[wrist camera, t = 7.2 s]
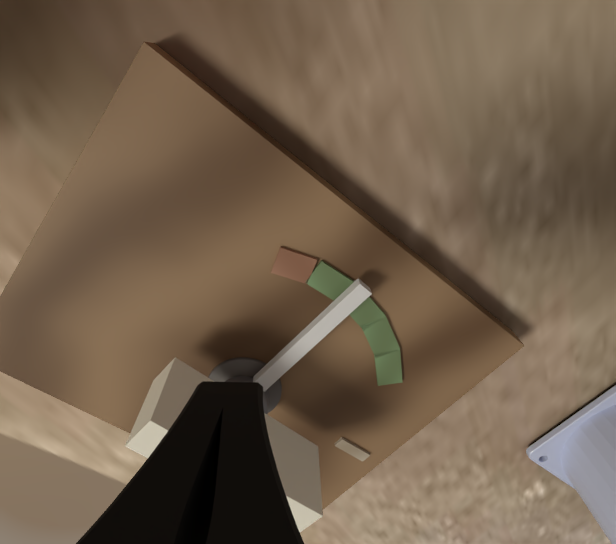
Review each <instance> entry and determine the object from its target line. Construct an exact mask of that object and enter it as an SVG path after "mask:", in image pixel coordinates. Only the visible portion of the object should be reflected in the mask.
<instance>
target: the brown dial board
mask: <svg viewBox="0 0 616 544" xmlns="http://www.w3.org/2000/svg"><path fill="white" fill-rule="evenodd" d="M358 278H359V279H360V280H361V281H362V282H363V283H365V284H366V285H367V286H368V287H369V288H370V290H371V293H372V294H371V295H370V296H369V297H368V298H367V299H366V300H365V301H364V302H362V303H361V304H360V305H359V306H358V307H357V308H356V309H355V310H354V311H353V312H351V313H350V314H349V315H348V316H347V317H346V318H345V319H344V320H343V321H342V322H340V323H339V324H338V325H337V326H336V327H335V328H334V329H333V330H332V331H331V332H329V333H328V334H327V335H326V336H325V337H324V338H323V339H322V340H321V341H320V342H319V343H317V344H316V345H315V346H314V347H313V348H312V349H311V350H310V351H309V352H308V353H306V354H305V355H304V356H303V357H302V358H301V359H300V360H299V361H298V362H297V363H295V364H294V365H293V366H292V367H291V368H290V369H289V370H288V371H287V372H286V373H284V374H283V375H282V376H281V377H280V378H279V379H278V380H277V381H276V382H275V383H273V384H272V385H271V386H270V387H269V388H268V389H267V391H268V394H269V399H268V413H267V415H269V416H270V417H272V418H274V419H275V420H277V421H278V422H280V423H282V424H283V425H285V426H286V427H288V428H290V429H291V430H293V431H294V432H296V433H298V434H299V435H301V436H302V437H304V438H306V439H307V440H309V441H310V442H312V443H314V444H315V445H317V446H318V452H319V467H320V481H321V496H322V510H323V509H324V508H325V507H327V506H328V505H329V504H330V503H332V502H333V501H334V500H335V499H336V498H338V497H339V496H340V495H341V494H343V493H344V492H345V491H346V490H348V489H349V488H350V487H351V486H352V485H354V484H355V483H356V482H357V481H359V480H360V479H361V478H362V477H364V476H365V475H366V474H367V473H368V472H370V471H371V470H372V469H373V468H375V467H376V466H377V465H378V464H379V463H381V462H382V461H383V460H384V459H386V458H387V457H388V456H389V455H391V454H392V453H393V452H394V451H395V450H397V449H398V448H399V447H400V446H402V445H403V444H404V443H405V442H407V441H408V440H409V439H410V438H411V437H413V436H414V435H415V434H416V433H418V432H419V431H420V430H421V429H423V428H424V427H425V426H426V425H427V424H429V423H430V422H431V421H432V420H434V419H435V418H436V417H437V416H439V415H440V414H441V413H442V412H443V411H445V410H446V409H447V408H448V407H450V406H451V405H452V404H453V403H455V402H456V401H457V400H458V399H459V398H461V397H462V396H463V395H464V394H466V393H467V392H468V391H469V390H471V389H472V388H473V387H474V386H475V385H477V384H478V383H479V382H480V381H482V380H483V379H484V378H485V377H487V376H488V375H489V374H490V373H491V372H493V371H494V370H495V369H496V368H498V367H499V366H500V365H501V364H503V363H504V362H505V361H506V360H507V359H509V358H510V357H511V356H512V355H514V354H515V353H516V352H517V351H519V350H520V349H521V348H522V347H523V346H524V345H523V343H522V342H521V341H520V340H519V339H518V337H517V336H516V335H515V334H514V332H513V331H512V330H510V329H509V328H508V327H507V326H505V325H504V324H503V323H502V322H501V321H499V320H498V319H497V318H496V317H494V316H493V315H492V314H491V313H489V312H488V311H487V310H486V309H484V308H483V307H482V306H481V305H479V304H478V303H477V302H476V301H474V300H473V299H472V298H471V297H469V296H468V295H467V294H466V293H464V292H463V291H462V290H461V289H459V288H458V287H457V286H456V285H455V284H453V283H452V282H451V281H450V280H448V279H447V278H446V277H445V276H443V275H442V274H441V273H440V272H438V271H437V270H436V269H435V268H433V267H432V266H431V265H430V264H428V263H427V262H426V261H425V260H423V259H422V258H421V257H420V256H418V255H417V254H416V253H415V252H414V251H412V250H411V249H410V248H409V247H407V246H406V245H405V244H404V243H402V242H401V241H400V240H399V239H397V238H396V237H395V236H394V235H392V234H391V233H390V232H389V231H387V230H386V229H385V228H384V227H382V226H381V225H380V224H379V223H377V222H376V221H375V220H374V219H372V218H371V217H370V216H369V215H368V214H366V213H365V212H364V211H363V210H361V209H360V208H359V207H358V206H356V205H355V204H354V203H353V202H351V201H350V200H349V199H348V198H346V197H345V196H344V195H343V194H341V193H340V192H339V191H338V190H336V189H335V188H334V187H333V186H331V185H330V184H329V183H328V182H327V181H325V180H324V179H323V178H322V177H320V176H319V175H318V174H317V173H315V172H314V171H313V170H312V169H310V168H309V167H308V166H307V165H305V164H304V163H303V162H302V161H300V160H299V159H298V158H297V157H295V156H294V155H293V154H292V153H290V152H289V151H288V150H287V149H285V148H284V147H283V146H282V145H281V144H279V143H278V142H277V141H276V140H274V139H273V138H272V137H271V136H269V135H268V134H267V133H266V132H264V131H263V130H262V129H261V128H259V127H258V126H257V125H256V124H254V123H253V122H252V121H251V120H249V119H248V118H247V117H246V116H244V115H243V114H242V113H241V112H240V111H238V110H237V109H236V108H235V107H233V106H232V105H231V104H230V103H228V102H227V101H226V100H225V99H223V98H222V97H221V96H220V95H218V94H217V93H216V92H215V91H213V90H212V89H211V88H210V87H208V86H207V85H206V84H205V83H203V82H202V81H201V80H200V79H198V78H197V77H196V76H195V75H194V74H192V73H191V72H190V71H189V70H187V69H186V68H185V67H184V66H182V65H181V64H180V63H179V62H177V61H176V60H175V59H174V58H172V57H171V56H170V55H169V54H167V53H166V52H165V51H164V50H162V49H161V48H160V47H159V46H157V45H156V44H155V43H149V42H143V44H142V46H141V48H140V50H139V51H138V53H137V55H136V57H135V58H134V60H133V62H132V64H131V65H130V67H129V69H128V71H127V73H126V74H125V76H124V78H123V80H122V81H121V83H120V85H119V87H118V89H117V90H116V92H115V94H114V96H113V97H112V99H111V101H110V103H109V105H108V106H107V108H106V110H105V112H104V113H103V115H102V117H101V119H100V120H99V122H98V124H97V126H96V128H95V129H94V131H93V133H92V135H91V136H90V138H89V140H88V142H87V144H86V145H85V147H84V149H83V151H82V152H81V154H80V156H79V158H78V160H77V161H76V163H75V165H74V167H73V168H72V170H71V172H70V174H69V175H68V177H67V179H66V181H65V183H64V184H63V186H62V188H61V190H60V191H59V193H58V195H57V197H56V199H55V200H54V202H53V204H52V206H51V207H50V209H49V211H48V213H47V214H46V216H45V218H44V220H43V222H42V223H41V225H40V227H39V229H38V230H37V232H36V234H35V236H34V238H33V239H32V241H31V243H30V245H29V246H28V248H27V250H26V252H25V254H24V255H23V257H22V259H21V261H20V262H19V264H18V266H17V268H16V269H15V271H14V273H13V275H12V277H11V278H10V280H9V282H8V284H7V285H6V287H5V289H4V291H3V293H2V294H1V296H0V371H1V372H3V373H5V374H7V375H9V376H11V377H13V378H15V379H18V380H20V381H22V382H24V383H26V384H28V385H30V386H32V387H34V388H36V389H38V390H41V391H43V392H45V393H47V394H49V395H51V396H53V397H55V398H57V399H59V400H62V401H64V402H66V403H68V404H70V405H72V406H74V407H76V408H78V409H80V410H82V411H85V412H87V413H89V414H91V415H93V416H95V417H97V418H99V419H101V420H103V421H105V422H108V423H110V424H112V425H114V426H116V427H118V428H120V429H122V430H124V431H126V432H129V433H131V431H132V428H133V426H134V424H135V422H136V419H137V417H138V415H139V412H140V410H141V408H142V405H143V403H144V401H145V399H146V396H147V394H148V392H149V389H150V387H151V385H152V382H153V380H154V379H155V378H156V377H157V376H158V375H159V374H160V373H161V372H162V371H163V370H164V369H165V367H166V366H167V365H168V364H169V363H170V362H171V361H172V360H173V359H174V358H175V357H176V358H177V359H179V360H181V361H182V362H184V363H185V364H187V365H189V366H190V367H192V368H193V369H195V370H197V371H198V372H200V373H201V374H203V375H205V376H206V377H208V378H209V379H211V380H213V381H214V382H225V381H226V380H228V379H230V378H233V377H237V376H247V377H252V378H253V377H254V375H256V374H257V373H258V372H259V371H260V370H261V369H262V368H263V367H264V366H265V365H266V364H267V363H268V362H269V361H270V360H272V359H273V358H274V357H275V356H276V355H277V354H278V353H279V352H280V351H281V350H282V349H283V348H284V347H285V346H286V345H287V344H289V343H290V342H291V341H292V340H293V339H294V338H295V337H296V336H297V335H298V334H299V333H300V332H301V331H302V330H303V329H304V328H306V327H307V326H308V325H309V324H310V323H311V322H312V321H313V320H314V319H315V318H316V317H317V316H318V315H319V314H320V313H321V312H323V311H324V310H325V309H326V308H327V307H328V306H329V305H330V304H331V303H332V302H333V301H334V300H335V299H336V298H337V297H339V296H340V295H341V294H342V293H343V292H344V291H345V290H346V289H347V288H348V287H349V286H350V285H351V284H352V283H353V282H354V281H356V280H357V279H358Z"/></svg>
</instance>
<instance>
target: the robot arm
mask: <svg viewBox="0 0 616 544" xmlns="http://www.w3.org/2000/svg"><path fill="white" fill-rule="evenodd" d="M526 453H527V455H528V457H529V458H530V459H531V460H532V461H534V462H535V463H537V464H538V465H540V466H541V467H543V468H544V469H546V470H547V471H549V472H550V473H552V474H553V475H555V476H556V477H558V478H559V479H561V480H562V481H564V482H565V483H567V484H568V485H570V486H571V487H573V488H574V489H576V491H577V492H578V494H579V495H580V497H581V498H582V500H583V501H584V503H585V504H586V506H587V507H588V509H589V510H590V512H591V513H592V515H593V516H594V518H595V519H596V521H597V522H598V524H599V525H600V527H601V528H602V530H603V531H604V533H605V534H606V536H607V537H608V539H609V540H610V542H611V543H612V544H616V385H615V386H614V387H612V388H611V389H609V390H608V391H607V392H605V393H604V394H602V395H601V396H599V397H598V398H597V399H595V400H594V401H592V402H591V403H590V404H588V405H587V406H585V407H584V408H583V409H581V410H580V411H578V412H577V413H576V414H574V415H573V416H571V417H570V418H569V419H567V420H566V421H564V422H563V423H561V424H560V425H559V426H557V427H556V428H554V429H553V430H552V431H550V432H549V433H547V434H546V435H545V436H543V437H542V438H540V439H539V440H538V441H536V442H535V443H533V444H532V445H531V446H529V447H528V448H527V450H526ZM76 544H304V542H303V540H302V537H301V535H300V532H299V530H298V527H297V525H296V522H295V519H294V517H293V514H292V511H291V509H290V506H289V503H288V500H287V497H286V494H285V491H284V489H283V486H282V482H281V479H280V476H279V473H278V470H277V466H276V462H275V459H274V455H273V452H272V448H271V444H270V440H269V436H268V431H267V426H266V421H265V415H264V407H263V386H262V385H260V384H259V383H258V382H211V381H202V382H201V383H200V384H198V385H197V387H196V389H195V390H194V392H193V394H192V396H191V397H190V399H189V400H188V402H187V404H186V405H185V407H184V408H183V410H182V411H181V413H180V414H179V416H178V417H177V419H176V420H175V422H174V423H173V425H172V426H171V428H170V429H169V430H168V432H167V433H166V435H165V436H164V437H163V439H162V440H161V441H160V443H159V444H158V445H157V447H156V448H155V450H154V451H153V452H152V454H151V455H150V456H149V458H148V459H147V460H146V462H145V463H144V464H143V466H142V467H141V468H140V469H139V471H138V472H137V473H136V474H135V476H134V477H133V478H132V479H131V480H130V482H129V483H128V484H127V485H126V487H125V488H124V489H123V491H122V492H121V493H120V494H119V495H118V496H117V498H116V499H115V500H114V502H113V503H112V504H111V505H110V506H109V507H108V508H107V510H106V511H105V512H104V513H103V514H102V515H101V517H100V518H99V519H98V520H97V521H96V522H95V523H94V524H93V526H92V527H91V528H90V529H89V530H88V531H87V532H86V533H85V535H84V536H83V537H82V538H81V539H80V540H79V541H78V542H77V543H76Z"/></svg>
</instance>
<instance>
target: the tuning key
mask: <svg viewBox="0 0 616 544" xmlns="http://www.w3.org/2000/svg"><path fill="white" fill-rule="evenodd" d="M371 294H372V293H371V290H370V288H369V287H368V286H367V285H366V284H365V283H363V282H362V281H361V280H360V279H359V278H358V279H357V280H356V281H354V282H353V283H352V284H351V285H350V286H349V287H348V288H347V289H346V290H345V291H344V292H343V293H342V294H341V295H340V296H339V297H337V298H336V299H335V300H334V301H333V302H332V303H331V304H330V305H329V306H328V307H327V308H326V309H325V310H324V311H323V312H321V313H320V314H319V315H318V316H317V317H316V318H315V319H314V320H313V321H312V322H311V323H310V324H309V325H308V326H307V327H306V328H304V329H303V330H302V331H301V332H300V333H299V334H298V335H297V336H296V337H295V338H294V339H293V340H292V341H291V342H290V343H289V344H287V345H286V346H285V347H284V348H283V349H282V350H281V351H280V352H279V353H278V354H277V355H276V356H275V357H274V358H273V359H272V360H270V361H269V362H268V363H267V364H266V365H265V366H264V367H263V368H262V369H261V370H260V371H259V372H258V373H257V374H256V375H254V377H253V378H252V377H247V376H237V377H233V378H230V379H228V380H226V381H225V382H258V383H259V384H260V385H262V386H263V407H264V415H265V421H266V426H267V431H268V436H269V440H270V444H271V448H272V452H273V455H274V459H275V462H276V466H277V470H278V473H279V476H280V479H281V482H282V486H283V489H284V491H285V494H286V497H287V500H288V503H289V506H290V509H291V511H292V514H293V517H294V519H295V522H296V525H297V527H298V530H299V532H301V531H303V530H304V529H305V528H307V527H308V526H310V525H311V524H312V523H314V522H315V521H317V520H318V519H319V518H321V517H322V516H323V511H322V496H321V481H320V467H319V452H318V446H317V445H315V444H314V443H312V442H310V441H309V440H307V439H306V438H304V437H302V436H301V435H299V434H298V433H296V432H294V431H293V430H291V429H290V428H288V427H286V426H285V425H283V424H282V423H280V422H278V421H277V420H275V419H274V418H272V417H270V416H269V415H267V413H268V399H269V394H268V391H267V389H268V388H269V387H270V386H271V385H272V384H273V383H275V382H276V381H277V380H278V379H279V378H280V377H281V376H282V375H283V374H284V373H286V372H287V371H288V370H289V369H290V368H291V367H292V366H293V365H294V364H295V363H297V362H298V361H299V360H300V359H301V358H302V357H303V356H304V355H305V354H306V353H308V352H309V351H310V350H311V349H312V348H313V347H314V346H315V345H316V344H317V343H319V342H320V341H321V340H322V339H323V338H324V337H325V336H326V335H327V334H328V333H329V332H331V331H332V330H333V329H334V328H335V327H336V326H337V325H338V324H339V323H340V322H342V321H343V320H344V319H345V318H346V317H347V316H348V315H349V314H350V313H351V312H353V311H354V310H355V309H356V308H357V307H358V306H359V305H360V304H361V303H362V302H364V301H365V300H366V299H367V298H368V297H369V296H370V295H371ZM202 381H211V382H214V381H213V380H211V379H209V378H208V377H206V376H205V375H203V374H201V373H200V372H198V371H197V370H195V369H193V368H192V367H190V366H189V365H187V364H185V363H184V362H182V361H181V360H179V359H177V358H176V357H175V358H174V359H173V360H172V361H171V362H170V363H169V364H168V365H167V366H166V367H165V369H164V370H163V371H162V372H161V373H160V374H159V375H158V376H157V377H156V378H155V379H154V380H153V382H152V385H151V387H150V389H149V392H148V394H147V396H146V399H145V401H144V403H143V405H142V408H141V410H140V412H139V415H138V417H137V419H136V422H135V424H134V426H133V428H132V431H131V433H130V435H129V438H128V440H127V442H126V445H125V447H127V448H129V449H131V450H133V451H135V452H137V453H139V454H141V455H143V456H145V457H146V458H149V456H150V455H151V454H152V452H153V451H154V450H155V448H156V447H157V445H158V444H159V443H160V441H161V440H162V439H163V437H164V436H165V435H166V433H167V432H168V430H169V429H170V428H171V426H172V425H173V423H174V422H175V420H176V419H177V417H178V416H179V414H180V413H181V411H182V410H183V408H184V407H185V405H186V404H187V402H188V400H189V399H190V397H191V396H192V394H193V392H194V390H195V389H196V387H197V385H198V384H200V383H201V382H202Z"/></svg>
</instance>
